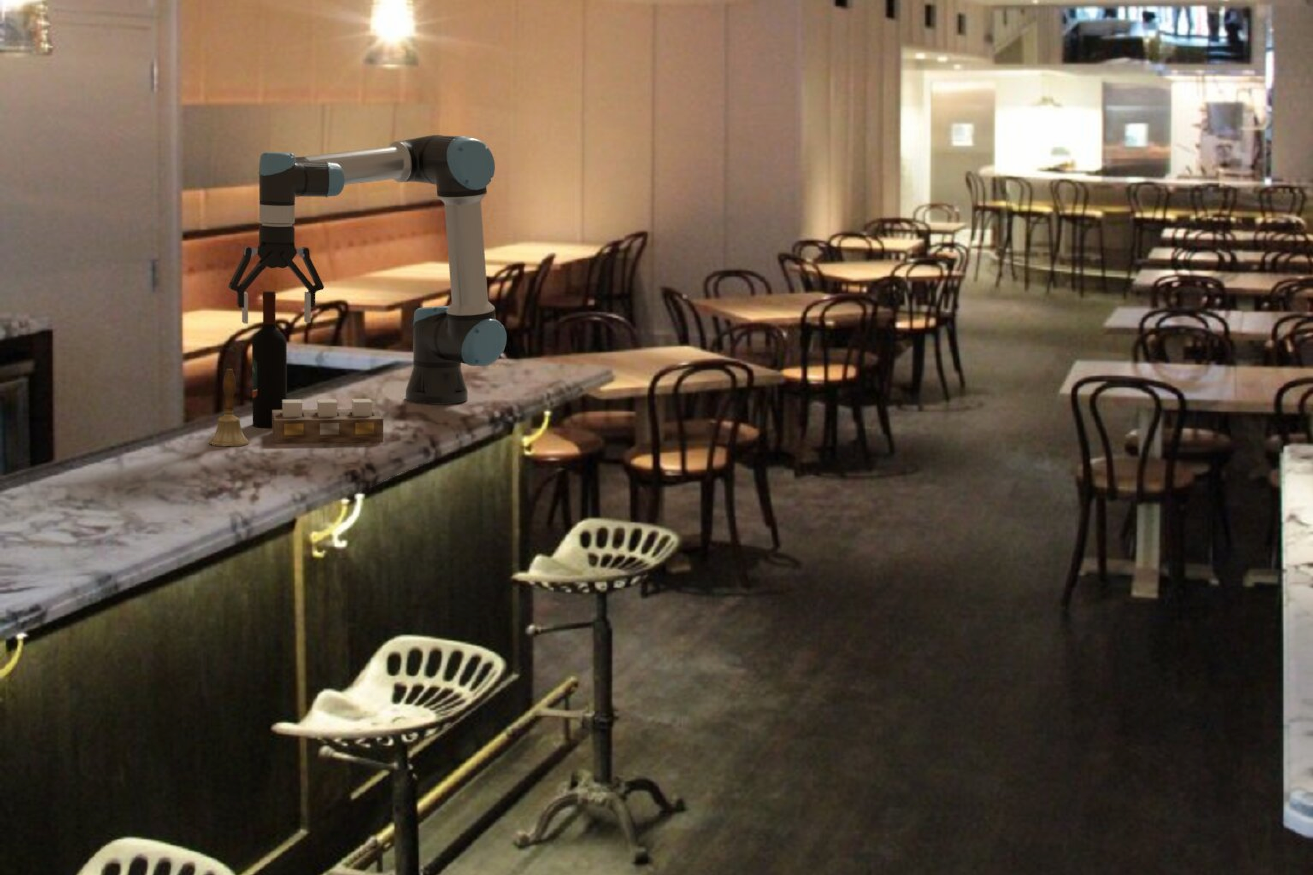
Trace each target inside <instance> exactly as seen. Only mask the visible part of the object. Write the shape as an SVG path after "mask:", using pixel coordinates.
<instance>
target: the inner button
mask: <svg viewBox="0 0 1313 875" xmlns="http://www.w3.org/2000/svg"><path fill="white" fill-rule="evenodd" d="M351 409H352V416H372V409H373V401H372V400H371V398H352V399H351Z"/></svg>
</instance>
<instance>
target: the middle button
mask: <svg viewBox="0 0 1313 875" xmlns="http://www.w3.org/2000/svg"><path fill="white" fill-rule="evenodd" d="M316 403H317V404H316V408H317V409H316V410H317V417H335V416H337V409H338V400H337V399H336V398H330V399H329V398H327V399H323V398H321V399H317V400H316Z"/></svg>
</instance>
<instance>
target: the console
mask: <svg viewBox="0 0 1313 875" xmlns="http://www.w3.org/2000/svg"><path fill="white" fill-rule="evenodd" d="M271 433H272V437H273V441H274V444H304V443H305V444H307V443H309V444H310V443H312V444H313V443H315V444H316V443H320V444H321V443H374V442H375V443H382V442H384V418H383V415H382V414H381V412H380V410H379V409H378V408H372V416H352V408H348V409H347V408H346V409H345V408H342V409H341V408H339V409H338V408H337V416H335V417H317V409H302V417H282V410H272V428H271Z"/></svg>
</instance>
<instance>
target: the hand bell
mask: <svg viewBox="0 0 1313 875" xmlns="http://www.w3.org/2000/svg"><path fill="white" fill-rule="evenodd" d="M222 387H223V388H222V389H223V393H224V394H223V395H224V397H225V404H224V405H225V406H224V415H222V416H221V417H218V419H217V426H216V427H217V428H216V430H215V433H214V435H213V436H212V437H211V438H210V439H209V441H208V444H209V443H210V445H211V444H212V446H215V445H217V446H216V447H226V446H231V447H242V446H246V445H249V444H250V441H249V439H248V438H247V437H246V435H244V433H243V430H242V427H241V420H240V418H239V417H237V416H236V415H234V396H235V392H236V376H235V374H234V370H233V368H226V370H225V374H224V377H223V380H222Z"/></svg>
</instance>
